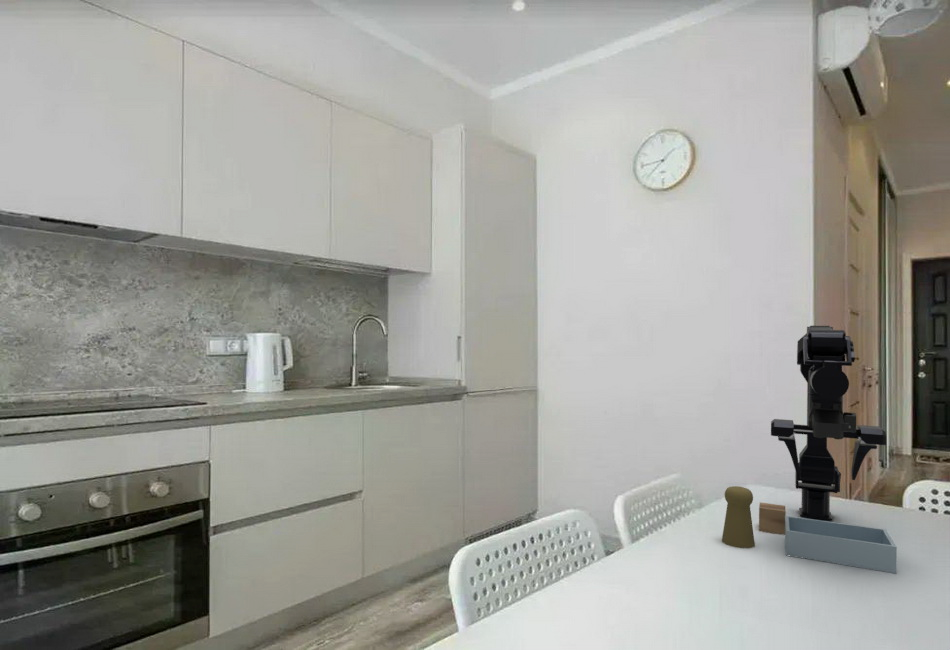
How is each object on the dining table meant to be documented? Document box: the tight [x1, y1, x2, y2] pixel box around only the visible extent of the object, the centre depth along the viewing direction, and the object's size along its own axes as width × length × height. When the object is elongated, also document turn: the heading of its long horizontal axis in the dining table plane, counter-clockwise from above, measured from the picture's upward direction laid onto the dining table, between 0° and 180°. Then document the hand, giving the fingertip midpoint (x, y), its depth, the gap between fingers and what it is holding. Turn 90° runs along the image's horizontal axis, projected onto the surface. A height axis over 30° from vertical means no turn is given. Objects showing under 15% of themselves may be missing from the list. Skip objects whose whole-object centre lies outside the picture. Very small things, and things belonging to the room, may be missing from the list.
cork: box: [721, 485, 756, 549], centre depth 119 cm, size 6×6×11 cm
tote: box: [784, 515, 897, 574], centre depth 113 cm, size 11×17×5 cm, turn 63°
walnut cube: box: [758, 502, 787, 536], centre depth 127 cm, size 5×5×5 cm
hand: (825, 476), depth 114 cm, fingers open, 9 cm apart
